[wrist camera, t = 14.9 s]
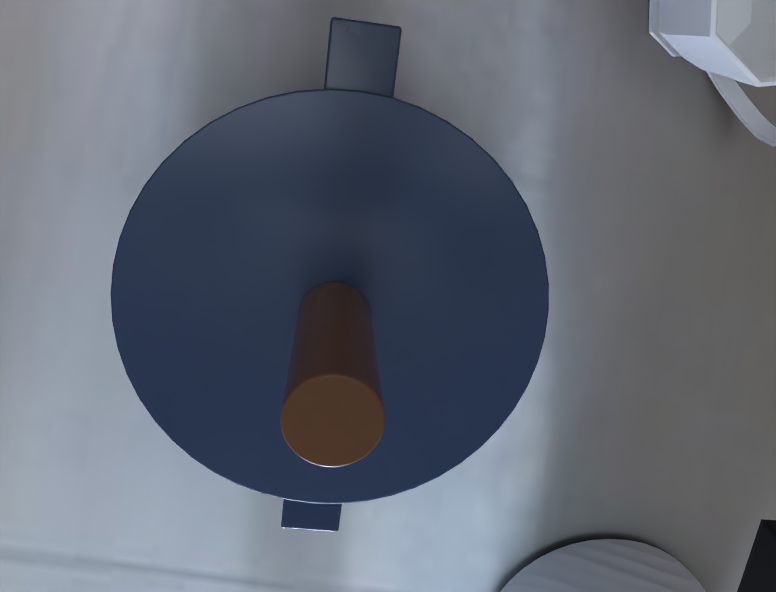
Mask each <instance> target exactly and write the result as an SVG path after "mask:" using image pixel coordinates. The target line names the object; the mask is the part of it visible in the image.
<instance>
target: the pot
mask: <svg viewBox="0 0 776 592" xmlns="http://www.w3.org/2000/svg"><path fill="white" fill-rule="evenodd" d="M401 32H402V29H401V27H399V26H392V25H385V24H378V23H371V22H364V21H357V20H350V19H343V18H336V17H333V18H331V22H330V32H329V42H328V53H327V63H326V73H325V83H324V89H344V90H359V91H365V92H369V93H374V94H379V95H384V96H389V97H392V98H393V95H394V87H395V79H396V71H397V63H398V55H399V48H400V40H401ZM341 506H342V503H341V504H331V503H308V502H300V501H292V500H286V499H284V502H283V512H282V522H281V526H282V528H290V529H304V530H319V531H334V532H337V531H338V529H339V522H340V514H341Z"/></svg>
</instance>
